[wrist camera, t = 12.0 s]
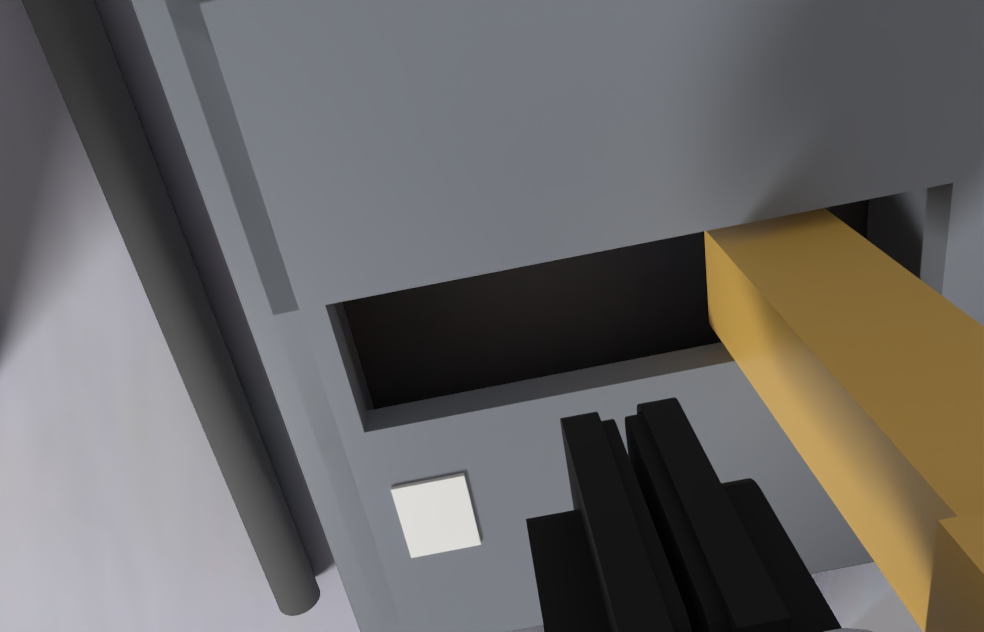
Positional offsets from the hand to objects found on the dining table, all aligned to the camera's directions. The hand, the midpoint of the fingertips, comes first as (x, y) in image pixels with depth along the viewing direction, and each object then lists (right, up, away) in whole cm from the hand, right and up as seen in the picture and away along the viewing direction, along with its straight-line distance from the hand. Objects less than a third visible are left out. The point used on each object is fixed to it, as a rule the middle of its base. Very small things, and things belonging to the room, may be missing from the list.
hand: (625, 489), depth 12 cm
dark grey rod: (-9, +2, +8) cm, 12 cm away
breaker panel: (+1, +4, +8) cm, 9 cm away
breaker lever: (+4, +4, +5) cm, 7 cm away
